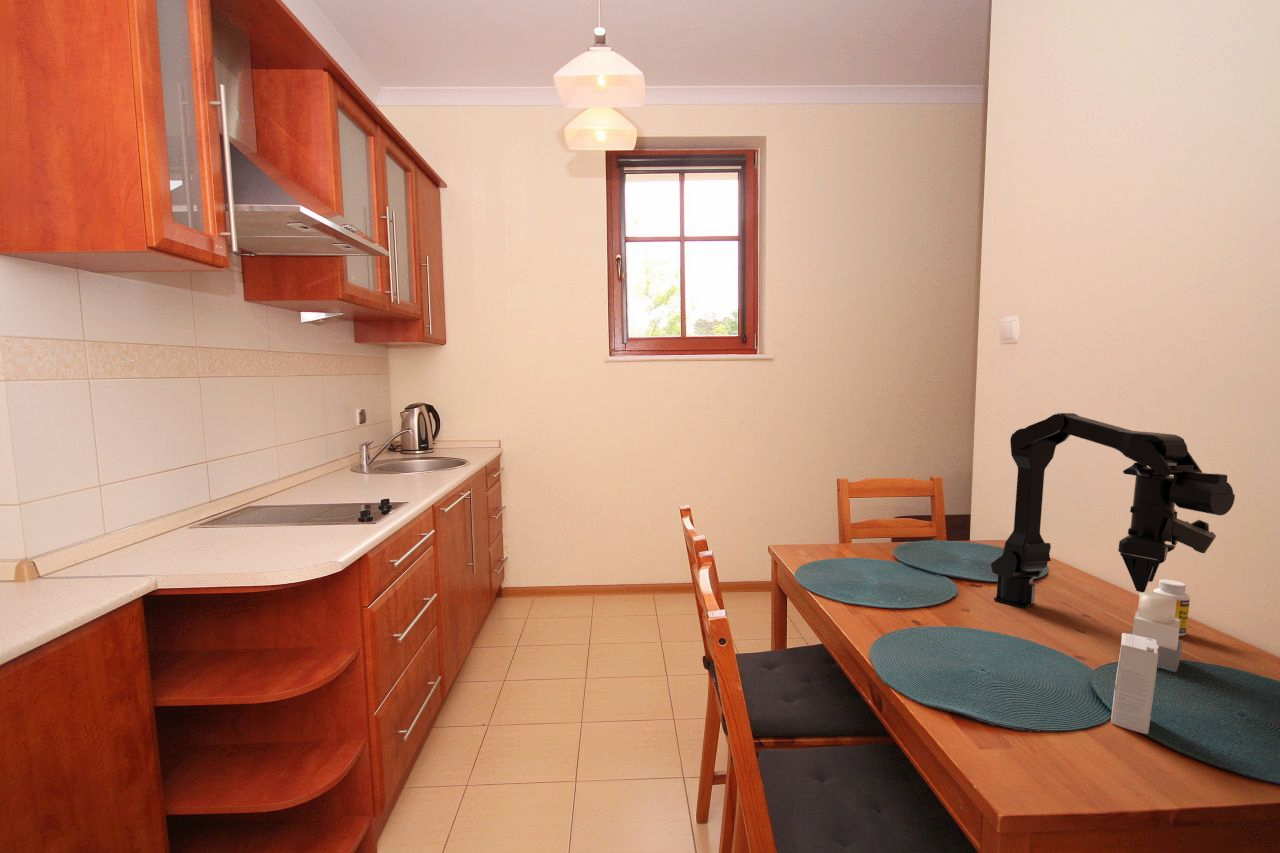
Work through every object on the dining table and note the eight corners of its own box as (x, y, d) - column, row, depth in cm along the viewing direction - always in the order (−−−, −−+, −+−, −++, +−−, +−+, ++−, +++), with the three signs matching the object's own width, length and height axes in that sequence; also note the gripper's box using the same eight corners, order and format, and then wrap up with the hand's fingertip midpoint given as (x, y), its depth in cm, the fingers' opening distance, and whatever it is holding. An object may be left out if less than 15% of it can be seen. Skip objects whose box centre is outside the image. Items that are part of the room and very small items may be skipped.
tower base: (1124, 660, 108) (1126, 638, 108) (1130, 649, 113) (1132, 628, 113) (1176, 674, 103) (1178, 652, 103) (1180, 662, 108) (1182, 641, 108)
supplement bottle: (1181, 639, 118) (1185, 588, 117) (1145, 629, 122) (1150, 580, 122) (1190, 633, 121) (1195, 584, 120) (1155, 624, 125) (1159, 576, 125)
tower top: (1132, 639, 107) (1134, 618, 107) (1135, 630, 112) (1137, 609, 111) (1176, 650, 103) (1179, 628, 103) (1178, 640, 108) (1180, 619, 107)
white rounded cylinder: (1136, 617, 107) (1138, 596, 107) (1139, 611, 111) (1141, 590, 111) (1173, 626, 104) (1175, 603, 103) (1175, 619, 107) (1177, 597, 107)
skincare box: (1112, 708, 91) (1119, 630, 90) (1151, 719, 88) (1158, 639, 87) (1110, 724, 86) (1117, 643, 85) (1151, 737, 83) (1159, 652, 82)
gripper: (1209, 518, 96) (1199, 612, 98) (1219, 504, 109) (1209, 587, 110) (1122, 505, 105) (1113, 592, 106) (1140, 494, 117) (1132, 572, 118)
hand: (1144, 586), depth 110 cm, fingers open, 9 cm apart
